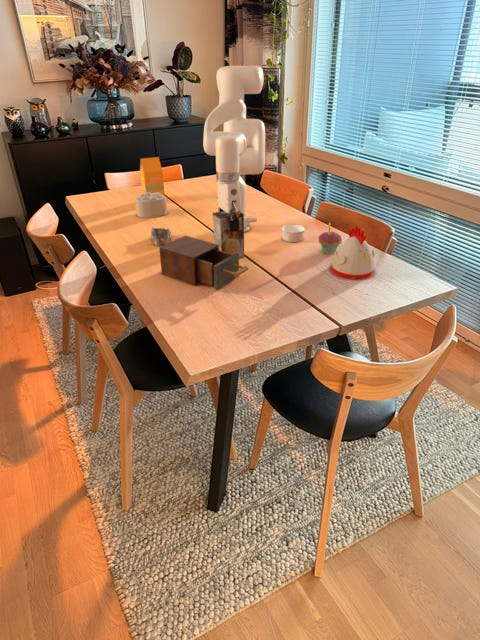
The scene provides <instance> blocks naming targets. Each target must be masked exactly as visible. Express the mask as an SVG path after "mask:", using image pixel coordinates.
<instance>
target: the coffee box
mask: <svg viewBox="0 0 480 640" xmlns="http://www.w3.org/2000/svg"><path fill="white" fill-rule="evenodd" d="M231 211H235V210H231ZM234 214H235V213H234ZM234 214H232V216H233V215H234ZM239 218H240V219H239V231H235V232H230V220H231V219H230V215H229V214H228V213H227V212H225V211H221V212H219V211H216V212H212V226H213V227H212V228H213V242H214V244H217V245H219V250H220V251H224V252H227V253H231V256H232V255H234V254H235V253H237V254H239V259H240V258H244V257H245V232H244V214H243V213H242V212H240V217H239Z"/></svg>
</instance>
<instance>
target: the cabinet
mask: <svg viewBox="0 0 480 640" xmlns="http://www.w3.org/2000/svg"><path fill="white" fill-rule="evenodd" d="M158 247H159V249H158V251H159V259H160V267H161V268H160V269H161V274H162V275H164V276H165V277H170V278H172V279H175V280H178V281H181V282H184V283H187V284H189V285H191V286H198V285H199V284H201V283H202V282H200V281H197V279H196V263H195V259H197V258H199V257H201V256H203V255H204V254H206V253H208V252H210V251H212V250H214V249H217V250H219V245H217V244H214V243H213V242H209V241H207V240H202V239H199V238H195V237H192V236H189V235H183V236H180V237H179V238H176V239H174V240H171V242H170V243H167V244H162V245H160V246H158Z"/></svg>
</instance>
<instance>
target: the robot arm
mask: <svg viewBox="0 0 480 640" xmlns="http://www.w3.org/2000/svg"><path fill="white" fill-rule="evenodd" d="M215 75H216V76H215V78H216V87H217V89H218V91H217V92H218V94H219V95H218V96H219V97H218V105H217V106H215V108H213V109H212V111H211V112H210V113H209V114H208V115H207V118H206V119H205V121H204V126H203V138H202V140H203V141H202V142H203V143H202V144H203V145H202V147H203V151H204V153H206V155H208V156H211V157H212V156H213V157H214V156H215V173H216V174H215V175H216V176H215V177H216V179H215V180H216V182H217V193H216V194H217V197H216V199H217V206H218V208H217V212H221V211H225V212H227V213H228V214H229V215H230V219H231V220H230V232H235V231H239V219H240V218H239V217H240V212H242V213H243V214H244V233H246V232H248V231H249V230H250V228H251V225H250V224H251V223H257V222H258V218H257V217H256V216H254V217H252V216H247V185H246V182H245V180H244V179H243V178H242V176H241V175H261V174H262V173H264V170H265V167H266V166H265V165H266V127H265V123H264V121H263V120H261V119H259V118H247V106H246V103H245V95H258V94H261V91H262V90H263V86H264V81H265V80H264V79H265V78H264V71H263V68H262V67H261V66H260V65H224V66H222V67H220V68H218V70H217V71H216V74H215ZM222 124H223V128H222V129H223V130H222V131H221V130H220V131H218V130H217V131H215V129H216V128H218V127H219V126H220V125H222ZM231 210H235V211H231ZM234 213H235V214H234ZM232 214H234V215H233V216H232Z"/></svg>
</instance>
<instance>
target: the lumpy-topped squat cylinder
mask: <svg viewBox="0 0 480 640" xmlns="http://www.w3.org/2000/svg"><path fill="white" fill-rule="evenodd" d="M167 201H168V200H167V197H166V195H165V196H163V195H162V194H160V193H158V192H155V193H152V194H151V193H150V192H146V193H144V194H143V193H142V194H140V195H138V196H137V197H136V198H135V206H136V207H135V208H136V214H137V217H138V218H158V217H162V216H166V215H168V214H169V213H168V212H169V211H168V202H167Z"/></svg>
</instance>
